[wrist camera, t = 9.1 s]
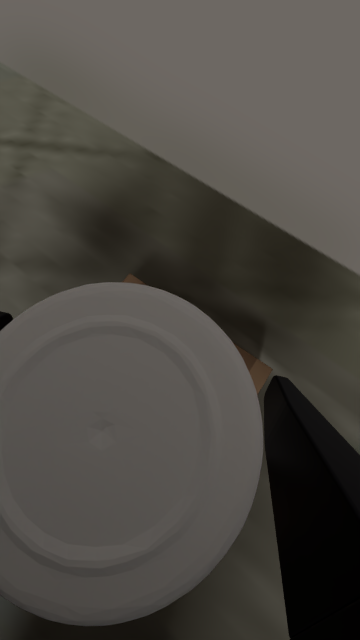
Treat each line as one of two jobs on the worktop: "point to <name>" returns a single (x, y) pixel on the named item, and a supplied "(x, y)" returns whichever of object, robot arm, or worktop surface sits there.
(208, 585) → the worktop surface
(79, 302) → the sprinkles bottle
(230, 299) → the worktop surface
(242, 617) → the worktop surface
